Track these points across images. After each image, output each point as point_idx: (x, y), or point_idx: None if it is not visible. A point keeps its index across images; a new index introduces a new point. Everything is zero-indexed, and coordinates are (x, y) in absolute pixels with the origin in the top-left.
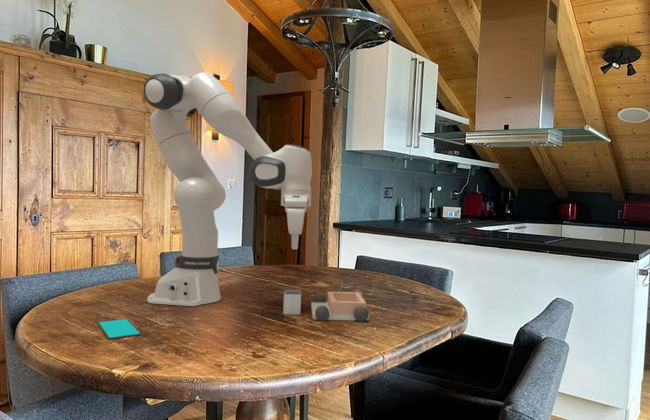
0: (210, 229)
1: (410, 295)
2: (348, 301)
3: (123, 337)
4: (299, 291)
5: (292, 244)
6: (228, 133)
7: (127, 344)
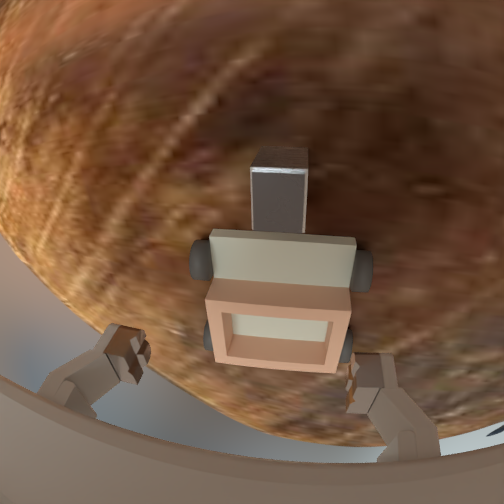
0: None
1: None
2: (223, 336)
3: None
4: (272, 228)
5: (98, 346)
6: None
7: None
